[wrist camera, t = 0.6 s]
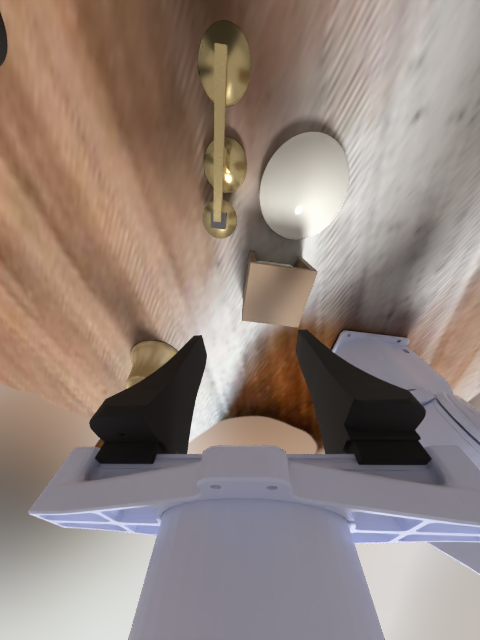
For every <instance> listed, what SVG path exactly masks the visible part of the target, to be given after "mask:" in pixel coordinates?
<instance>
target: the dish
mask: <svg viewBox="0 0 480 640" xmlns="http://www.w3.org/2000/svg"><path fill="white" fill-rule="evenodd" d="M348 187H349V165H348V161H347V157H346V155H345V152H344V150H343V149H342V147H341V146H340V144H339V143H338V142H337V141H336V140H335V139H333V138H332V137H331V136H329V135H327V134H324V133H321V132H305V133H302V134H298V135H296V136H294V137H292V138H291V139H289V140H288V141H286V142H285V143H284V144H283V145H282V146H280V148H279V149H278V150H277V151H276V152H275V153H274V155H273V156H272V158H271V159H270V161H269V163H268V165H267V167H266V169H265V171H264V173H263V177H262V180H261V184H260V192H259V201H260V208H261V212H262V215H263V217H264V219H265V221H266V223H267V224H268V225H269V227H270V228H271V229H272V230H273V231H275V232H276V233H277V234H279V235H280V236H282V237H285V238H288V239H296V240H297V239H305V238H308V237H311V236H313V235H316V234H317V233H319V232H321V231H322V230H323V229H325V228H326V227H327V226H328V225H329V224H330V223H331V222H332V221H333V220H334V218H335V217H336V216H337V214H338V213H339V211H340V209H341V207H342V205H343V203H344V201H345V198H346V195H347V192H348Z"/></svg>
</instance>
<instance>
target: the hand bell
mask: <svg viewBox="0 0 480 640" xmlns="http://www.w3.org/2000/svg"><path fill="white" fill-rule="evenodd" d="M177 352H178V351H177V350H176V349H174V348H173V347H171V346H170V345H168V344H165V343H163V342H159V341H143V342H140V343H138V344H136V345H135V346H134V347H133V349H132V351H131V362H132V364H133V367H132V370H131V373H130V375H129V377H128V379H127V381H126V388H129V387H131V386H133V385H135V384H136V383H138V382H140V381H141V380H143V379H144V378H146V377H147V376H149V375H150V374H152V373H153V372H155V371H156V370H157V369H159V368H160V367H161V366H163V365H164V364H165V363H166V362H168V361H169V360H170V359H171V358H172V357H173V356H174V355H175V354H176V353H177ZM103 444H104V442H103V441H102V440H101V439H100V440H99V441H98V443H97V444H96V446H95V447H97V448H100V449H101V447H102V445H103Z"/></svg>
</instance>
